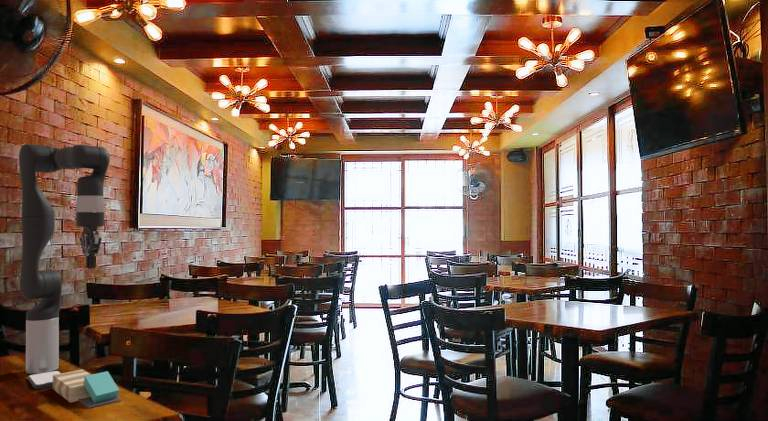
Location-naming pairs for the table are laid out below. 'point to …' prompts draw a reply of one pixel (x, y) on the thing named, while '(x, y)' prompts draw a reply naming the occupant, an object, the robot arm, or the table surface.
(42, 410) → the table surface
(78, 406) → the table surface
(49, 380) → the phone case
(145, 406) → the table surface
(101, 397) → the turquoise rectangular block
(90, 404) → the mat
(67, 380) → the board
